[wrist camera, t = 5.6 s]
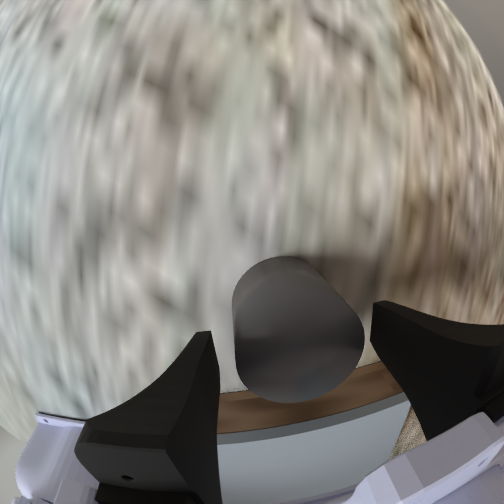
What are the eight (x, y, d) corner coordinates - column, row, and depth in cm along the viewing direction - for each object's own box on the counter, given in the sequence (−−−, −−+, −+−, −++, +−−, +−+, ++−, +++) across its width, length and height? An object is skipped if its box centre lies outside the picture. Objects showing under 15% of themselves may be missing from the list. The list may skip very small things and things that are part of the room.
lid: (217, 506, 16) (217, 513, 15) (174, 436, 13) (172, 446, 12) (373, 475, 17) (376, 481, 16) (407, 390, 14) (413, 398, 13)
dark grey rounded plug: (239, 348, 16) (245, 411, 11) (225, 263, 14) (225, 308, 9) (326, 333, 16) (358, 387, 11) (325, 249, 14) (368, 284, 10)
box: (216, 477, 19) (217, 505, 16) (180, 396, 16) (174, 434, 13) (362, 450, 20) (373, 475, 17) (383, 360, 17) (406, 389, 14)
